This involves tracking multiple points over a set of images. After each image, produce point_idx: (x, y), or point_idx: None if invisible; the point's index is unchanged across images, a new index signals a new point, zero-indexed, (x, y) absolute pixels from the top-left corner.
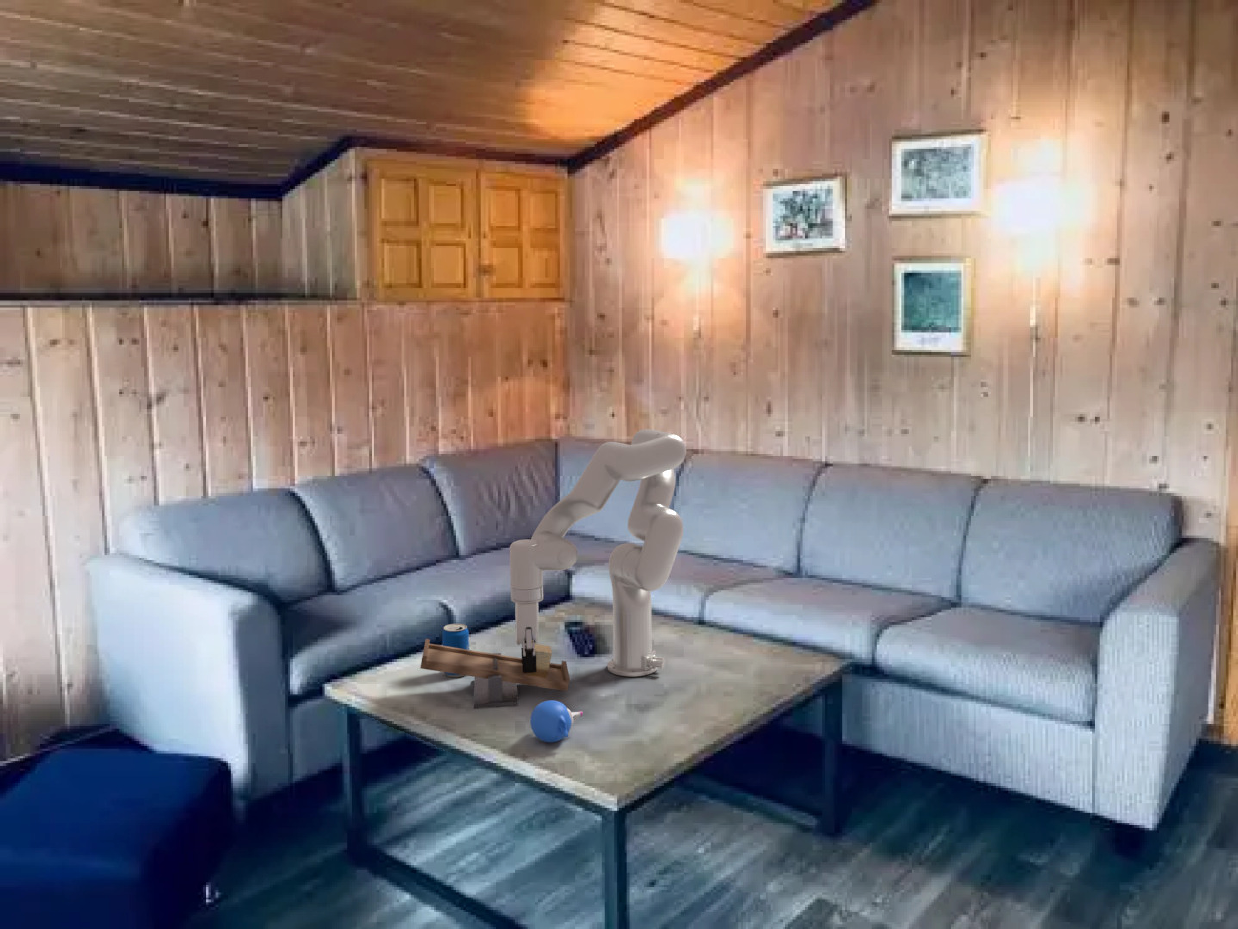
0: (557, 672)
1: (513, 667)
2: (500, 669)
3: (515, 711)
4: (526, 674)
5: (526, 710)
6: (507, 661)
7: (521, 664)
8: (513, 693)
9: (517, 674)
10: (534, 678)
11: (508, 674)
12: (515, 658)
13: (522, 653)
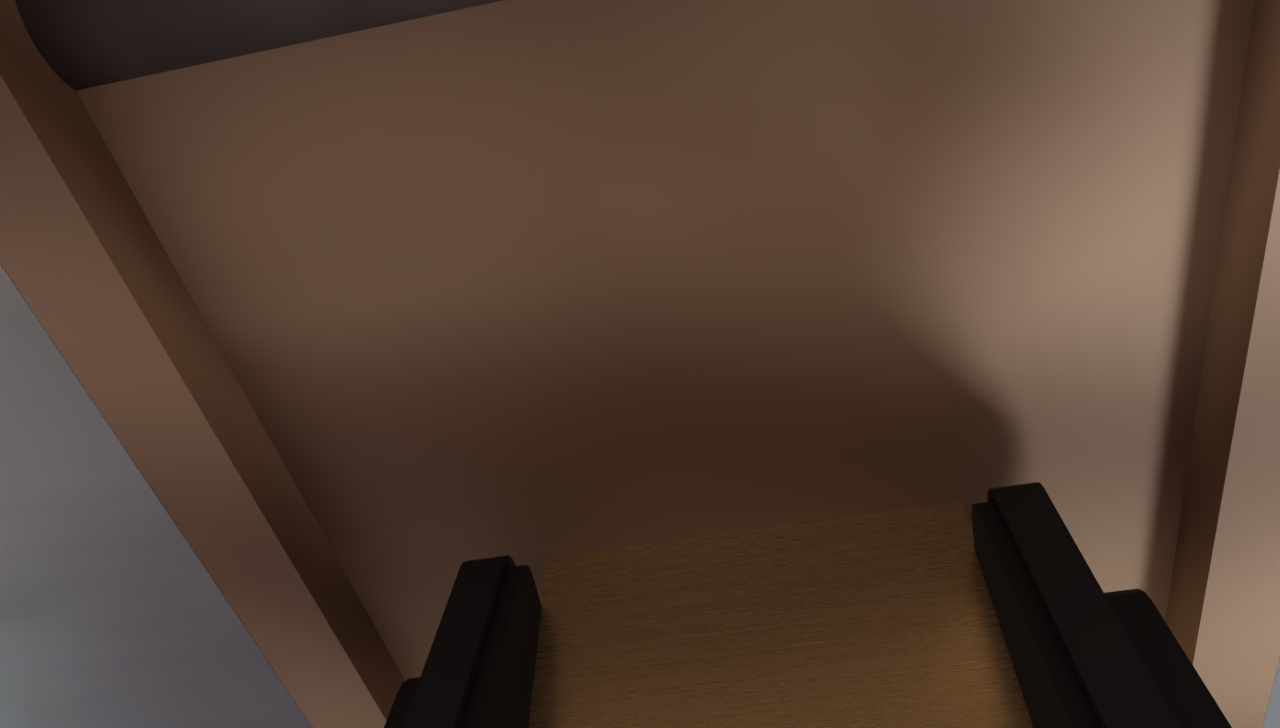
0: None
1: (797, 328)
2: (438, 94)
3: (7, 321)
4: (548, 569)
5: (78, 446)
6: (1166, 144)
7: (1088, 432)
8: None
9: (198, 518)
10: (317, 721)
11: (79, 361)
12: (1266, 342)
13: (1040, 669)
